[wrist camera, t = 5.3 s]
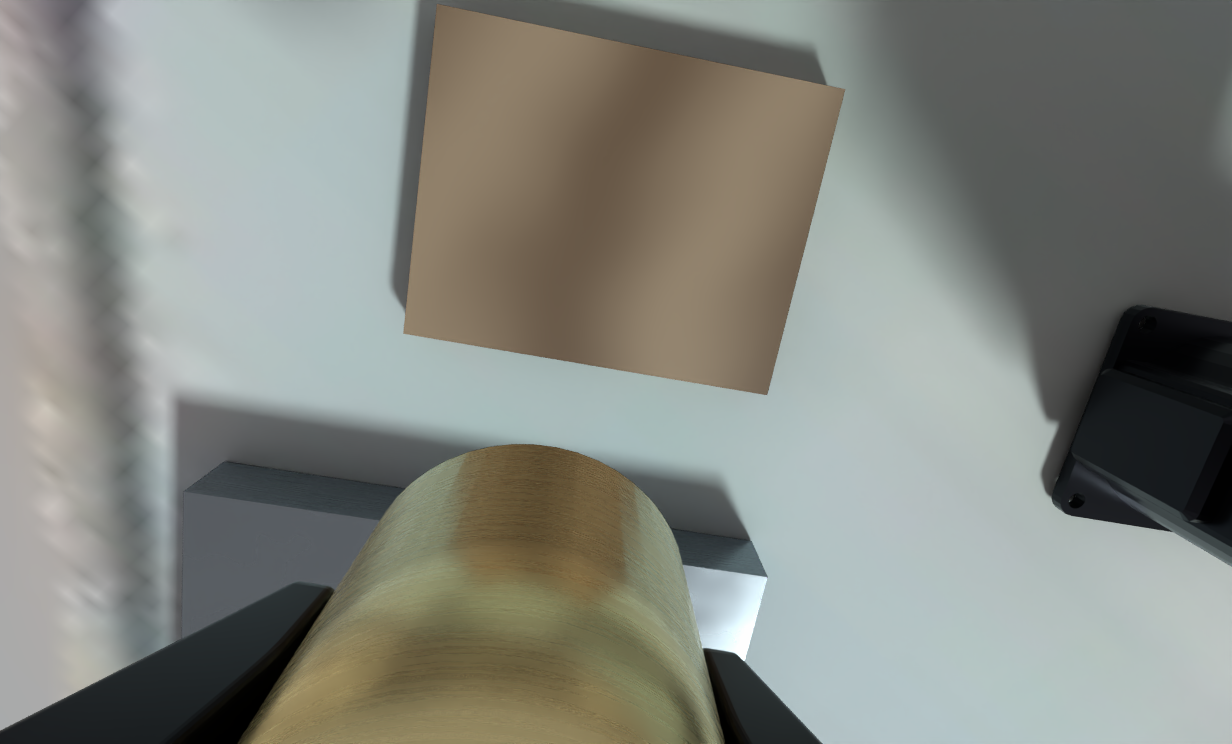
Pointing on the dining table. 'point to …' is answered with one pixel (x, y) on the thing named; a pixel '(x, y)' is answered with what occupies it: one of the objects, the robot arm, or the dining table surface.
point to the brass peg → (504, 618)
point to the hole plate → (342, 523)
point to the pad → (612, 201)
